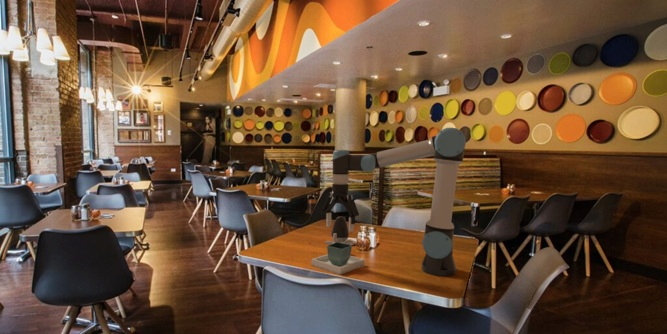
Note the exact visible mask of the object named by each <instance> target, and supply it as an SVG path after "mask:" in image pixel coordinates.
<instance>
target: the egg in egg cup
mask: <svg viewBox="0 0 667 334" xmlns="http://www.w3.org/2000/svg"><path fill="white" fill-rule="evenodd" d="M334 233H336V234H337V240H338V242H344V243H346V242H347V240H348V239H349V235H350V234H349V233H350V232H349V225H348V222H347V221H346V216H343V215H342V216H341V215H340V216H337V217H336V218H335V220H334V222H333V225H332V230H331V235H330V236H331V238H332V240H333V234H334ZM345 241H346V242H345Z"/></svg>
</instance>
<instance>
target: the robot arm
mask: <svg viewBox="0 0 667 334" xmlns="http://www.w3.org/2000/svg"><path fill="white" fill-rule="evenodd" d="M466 141H467V140H466V136H465V134H464V132H462V131H461V130H460V129H458V128H456V127H446V128H443V129H441V130H440V131H438V133H437V135H433V136H431V137H430V138H429V139H426V140H422V141H418V142H415V143H414V142H413V143H410V144H406V145H402V146H397V147H394V148H389V149H385V150H380V151H377V152H374V153H369V154H351V153H350V151H349V150H347V149H336V150H333V152H332V158H331V159H332V184H331V185H332V187H331V188H332V189H331V192H328V193H327V196H326V199H325V202H324V204H323V207H322V209H321V211H322V212H324V213H325V218H324V219H325V220H326V224H325V225H326V228H330V227H332V210H333V209H334V208H335V206H336V205H337V204H341V205H343V206H344V208H345V209H346V211H347V213H348V215H349V217H348V232H349V233H350V232H355V231H354V230H355V229H354V225H355V224H356V218H357V217H358V216H360V213H359V209H358V208H357V204H356V202H355V198H354V194H348V193H349V184H348V183H349V181H350V180H349V178H350V177H349V176H350V172H353V171H354V172H365V173H367V172H368V173H369V172H373V171H375V170H376V169H380V168H385V167H388V166H392V165H397V164H402V163H407V162H411V161H416V160H419V159H423V158H428V157H433V160H434V162H435V163H436V166H435V168H436V170H435V177H434V182H433V183H434V184H433V193H432V199H431V201H432V203H431V209H430V217H429V219H428V220H427V221H426V222H425V229H424V235H423V239H422V242H421V244H422V249H423V251H424V252H425V255H424V258H423V260H422V263H421V270H422V271H423V272H424V273H427V274H430V275H433V276H439V277H449V276H450V277H451V276H454V275H456V273H457V266H456V262H455V259H454V256H453V254H454V253H453V252H454V232H455V224H454V223H453V222H452V218H453V210H454V204H455V203H454V202H455V195H456V188H457V179H458V171H459V170H458V169H459V167H460V165H461V164H462V163H464V155H465V147H466V144H467V142H466Z"/></svg>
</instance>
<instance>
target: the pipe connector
mask: <svg viewBox="0 0 667 334" xmlns="http://www.w3.org/2000/svg"><path fill="white" fill-rule="evenodd" d="M336 242H338V240H337V234H336V233H334V234H333V239H332V240H325V241H324V244H325V245H330V244H333V243H336ZM339 243H344V244H345V242H339Z"/></svg>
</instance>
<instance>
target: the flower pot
mask: <svg viewBox="0 0 667 334" xmlns="http://www.w3.org/2000/svg"><path fill="white" fill-rule="evenodd" d="M352 248H353V245H352V244H348V243H345V242H344V243H339V242H336V243H333V244H327V245H326V250H327V251H326V252H327V254H328V258H329V260H330V262H331V264H333V265H337V266H342V265H344V264H346V263H347V262H348V260H349V258H350V256H352V255H351V253H352Z"/></svg>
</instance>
